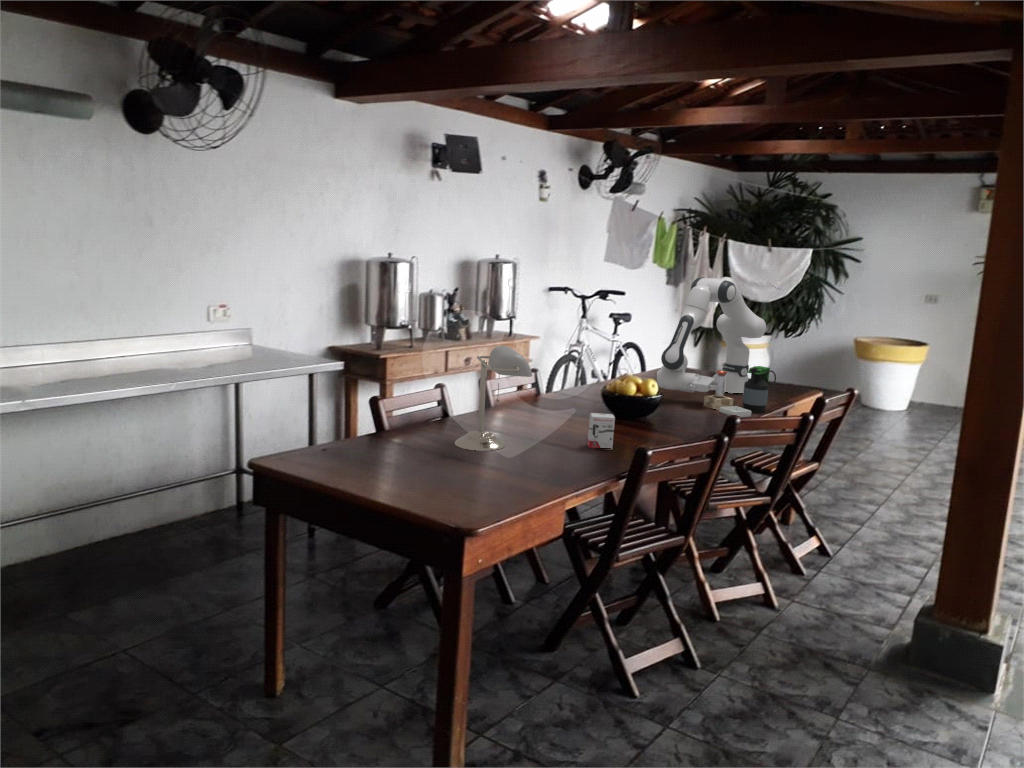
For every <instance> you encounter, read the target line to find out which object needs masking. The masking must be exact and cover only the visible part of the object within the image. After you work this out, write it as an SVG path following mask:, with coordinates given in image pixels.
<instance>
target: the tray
mask: <svg viewBox="0 0 1024 768" xmlns="http://www.w3.org/2000/svg"><path fill="white" fill-rule="evenodd" d="M719 412H721V413H723V414H722V415H724V414H726V415H725V416H728V417H730V415H737V416H740V417H739V418H748V417H749V418H750V417H752V412H751V411H750V410H747V409H744V408H743V407H740V406H738V405H733V406H731V407H720V408H719V411H718V413H719ZM721 413H720V414H721Z"/></svg>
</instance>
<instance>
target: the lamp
mask: <svg viewBox="0 0 1024 768" xmlns="http://www.w3.org/2000/svg"><path fill="white" fill-rule="evenodd" d="M476 359H477V361H479V362H480V382H479V383H480V384H479V401H478V402H479V403H478V404H479V407H478V421H477V423H478V425H477V430H472V431H467V433H466V434H464V435H463V436H460V437H459V438H457V439H456V440H454V445H455V446H456V447H458V448H460V449H463V450H467V449H468V451H474V450H476V452H477V451H478V452H492V451H491V450H493V451H498V450H497V449H499V450H502V449H504V448H505V447H506V446H505V444H506V443H505V442H504V440H502V439H500V438H499V437H497V436H496V435H495V434H494V433H493V432H490V431H486V430H485V429H484V427H485V407H486V406H485V404H486V390H487V389H486V388H487V387H486V386H487V370H489V371H490V372H494V373H496V374H497V375H498V377H500V375H501V376H507V377H509V376H510V377H521V378H523V377H525V378H526V377H527V378H530V377H531V378H532V377H533V372H532V369H531V366H530V364H529V362H528V360H527V359H526V358H525V357H524V356H523V355H521V353H519V352H518V351H516V350H515V349H514V348H513V347H509V346H507V345H497V346H495V347H494V348H492V349H491V351H490V353H489V355H477V356H476ZM485 359H488V362H487V360H485ZM497 387H498V388H497V399H496V400H495V401H496V402H497V403H499V402H500V399H499V393H500V384H497ZM484 430H485V431H484ZM503 447H504V448H503ZM501 448H502V449H501Z"/></svg>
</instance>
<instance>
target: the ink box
mask: <svg viewBox="0 0 1024 768" xmlns="http://www.w3.org/2000/svg"><path fill="white" fill-rule="evenodd" d="M588 422H589V423H588V433H587V447H588V448H589V449H595V448H611V449H610V450H613V445H614V433H615V422H616V417H615V415H614V414H612V413H597V412H591V413H589V421H588Z"/></svg>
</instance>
